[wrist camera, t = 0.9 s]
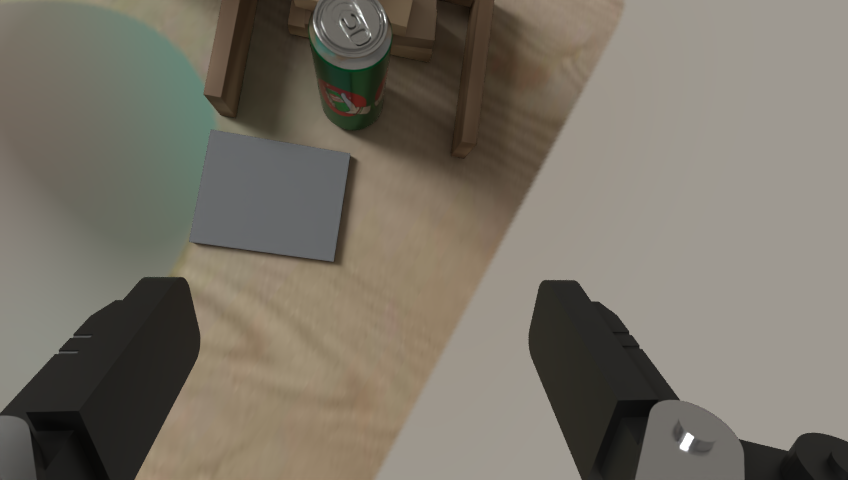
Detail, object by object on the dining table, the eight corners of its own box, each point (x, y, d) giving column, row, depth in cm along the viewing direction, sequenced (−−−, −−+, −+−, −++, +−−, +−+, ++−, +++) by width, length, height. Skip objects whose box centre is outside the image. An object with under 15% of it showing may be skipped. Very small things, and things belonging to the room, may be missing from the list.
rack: (220, 114, 35) (203, 94, 31) (253, -56, 37) (241, -96, 33) (464, 158, 38) (476, 144, 34) (484, -3, 40) (498, -34, 36)
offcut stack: (289, 38, 37) (280, 7, 33) (297, -13, 37) (290, -49, 33) (428, 67, 38) (437, 41, 34) (435, 18, 39) (444, -13, 35)
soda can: (361, 64, 38) (364, -35, 26) (393, 114, 38) (410, 37, 26) (310, 92, 37) (288, 3, 25) (343, 143, 37) (337, 78, 25)
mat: (191, 242, 34) (188, 241, 34) (213, 132, 35) (210, 129, 35) (333, 261, 36) (333, 261, 35) (350, 155, 37) (350, 153, 36)
